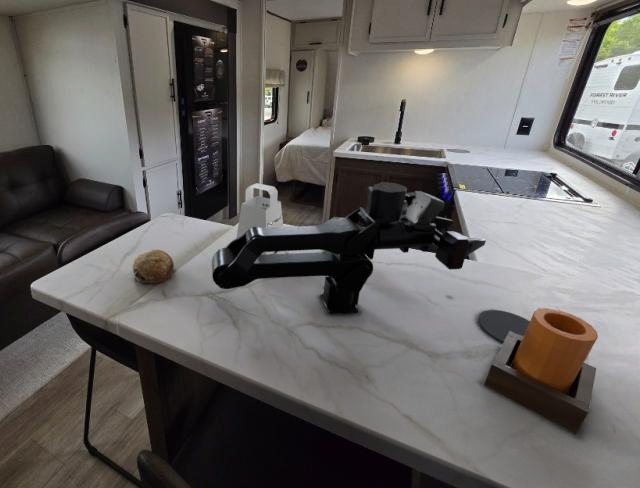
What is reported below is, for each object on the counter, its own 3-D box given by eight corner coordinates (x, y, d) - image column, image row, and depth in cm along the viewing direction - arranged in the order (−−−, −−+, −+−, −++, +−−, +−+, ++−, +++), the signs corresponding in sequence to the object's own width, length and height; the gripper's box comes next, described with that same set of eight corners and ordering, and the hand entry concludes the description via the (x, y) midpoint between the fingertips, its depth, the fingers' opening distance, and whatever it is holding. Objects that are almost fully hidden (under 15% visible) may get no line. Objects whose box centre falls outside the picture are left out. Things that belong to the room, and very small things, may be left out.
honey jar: (532, 408, 52) (565, 342, 46) (496, 370, 58) (522, 309, 53) (574, 404, 52) (612, 338, 47) (534, 367, 58) (563, 306, 53)
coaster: (507, 353, 62) (508, 351, 61) (465, 313, 72) (465, 311, 71) (563, 348, 62) (564, 346, 62) (513, 310, 72) (514, 308, 72)
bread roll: (132, 287, 87) (119, 269, 81) (152, 255, 93) (140, 236, 87) (165, 295, 83) (153, 278, 78) (183, 262, 89) (174, 243, 84)
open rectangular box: (575, 434, 48) (588, 412, 46) (483, 384, 55) (491, 364, 54) (584, 388, 55) (596, 368, 53) (501, 349, 62) (509, 330, 60)
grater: (254, 243, 101) (255, 178, 93) (285, 253, 95) (289, 185, 87) (233, 257, 93) (232, 188, 85) (266, 269, 88) (268, 196, 79)
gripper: (432, 215, 57) (519, 213, 58) (380, 182, 74) (448, 180, 75) (417, 272, 61) (498, 269, 62) (372, 228, 78) (436, 226, 79)
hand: (468, 231), depth 70 cm, fingers open, 9 cm apart
